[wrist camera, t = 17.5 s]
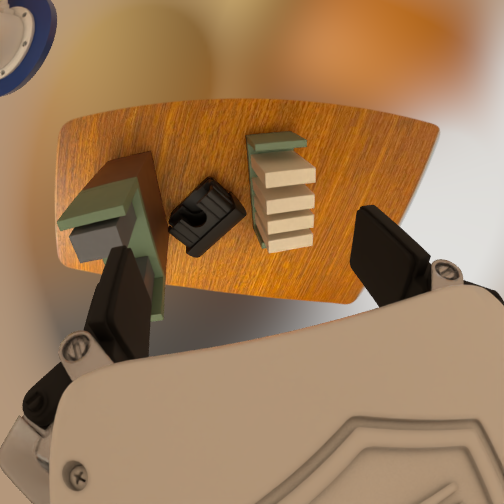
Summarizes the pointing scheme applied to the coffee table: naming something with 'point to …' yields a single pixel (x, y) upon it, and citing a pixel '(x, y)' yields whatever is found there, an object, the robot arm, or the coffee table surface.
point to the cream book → (282, 169)
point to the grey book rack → (123, 221)
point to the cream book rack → (279, 199)
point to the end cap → (205, 217)
